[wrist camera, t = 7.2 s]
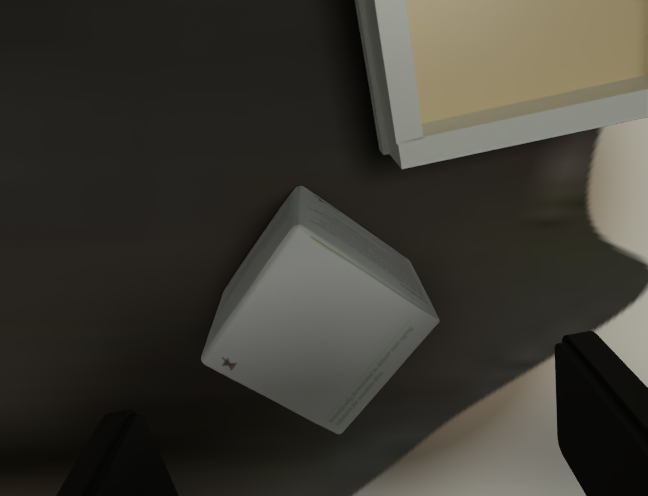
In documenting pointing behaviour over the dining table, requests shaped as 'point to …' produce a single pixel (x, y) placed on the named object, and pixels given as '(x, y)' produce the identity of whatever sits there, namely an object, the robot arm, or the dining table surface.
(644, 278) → the dining table surface
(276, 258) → the small box
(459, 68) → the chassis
